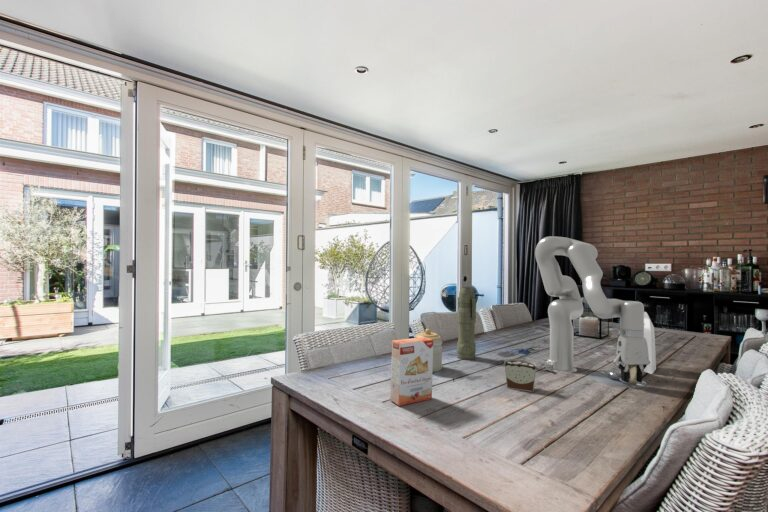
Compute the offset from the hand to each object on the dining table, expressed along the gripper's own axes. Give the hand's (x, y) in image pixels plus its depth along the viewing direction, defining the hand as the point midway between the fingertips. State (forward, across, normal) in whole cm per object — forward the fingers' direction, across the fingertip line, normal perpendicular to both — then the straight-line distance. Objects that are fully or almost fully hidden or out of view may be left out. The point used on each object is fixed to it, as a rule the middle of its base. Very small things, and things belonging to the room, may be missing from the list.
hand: (631, 380), depth 141 cm
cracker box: (+3, -86, -7) cm, 86 cm away
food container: (+3, -42, +4) cm, 42 cm away
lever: (+1, 0, +5) cm, 5 cm away
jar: (+3, -73, +30) cm, 79 cm away
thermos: (+3, -50, +47) cm, 69 cm away
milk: (+3, +24, +26) cm, 36 cm away
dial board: (+3, 0, +8) cm, 9 cm away
